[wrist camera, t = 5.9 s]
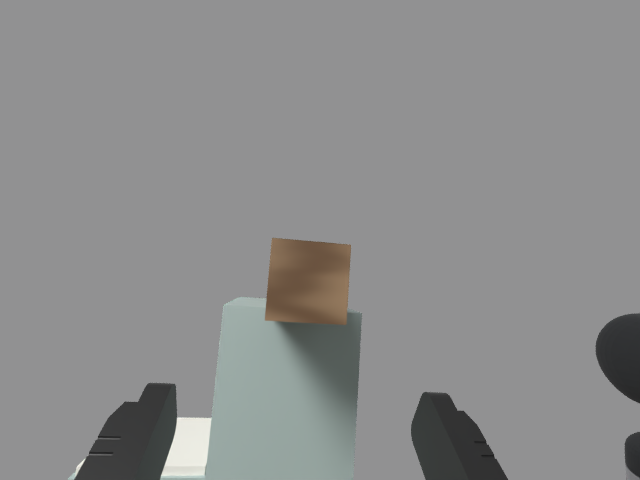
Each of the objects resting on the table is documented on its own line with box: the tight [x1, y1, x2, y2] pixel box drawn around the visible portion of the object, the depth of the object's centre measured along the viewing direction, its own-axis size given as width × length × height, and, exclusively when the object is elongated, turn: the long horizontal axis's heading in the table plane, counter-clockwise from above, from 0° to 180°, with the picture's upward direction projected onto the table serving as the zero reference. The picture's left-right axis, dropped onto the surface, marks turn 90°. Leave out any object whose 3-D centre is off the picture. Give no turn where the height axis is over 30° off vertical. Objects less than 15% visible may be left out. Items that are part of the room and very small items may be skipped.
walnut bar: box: [265, 238, 351, 325], centre depth 26 cm, size 4×20×4 cm, turn 8°
